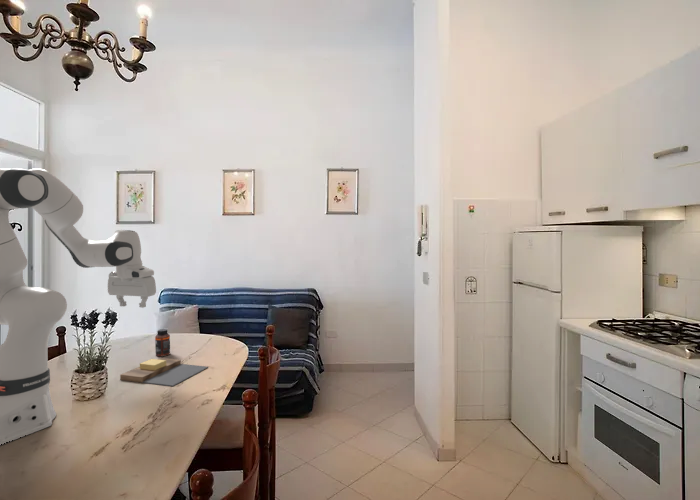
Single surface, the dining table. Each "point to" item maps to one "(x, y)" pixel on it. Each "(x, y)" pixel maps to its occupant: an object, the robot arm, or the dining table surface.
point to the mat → (175, 375)
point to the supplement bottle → (162, 343)
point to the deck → (148, 371)
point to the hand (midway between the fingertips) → (132, 306)
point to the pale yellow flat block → (153, 364)
